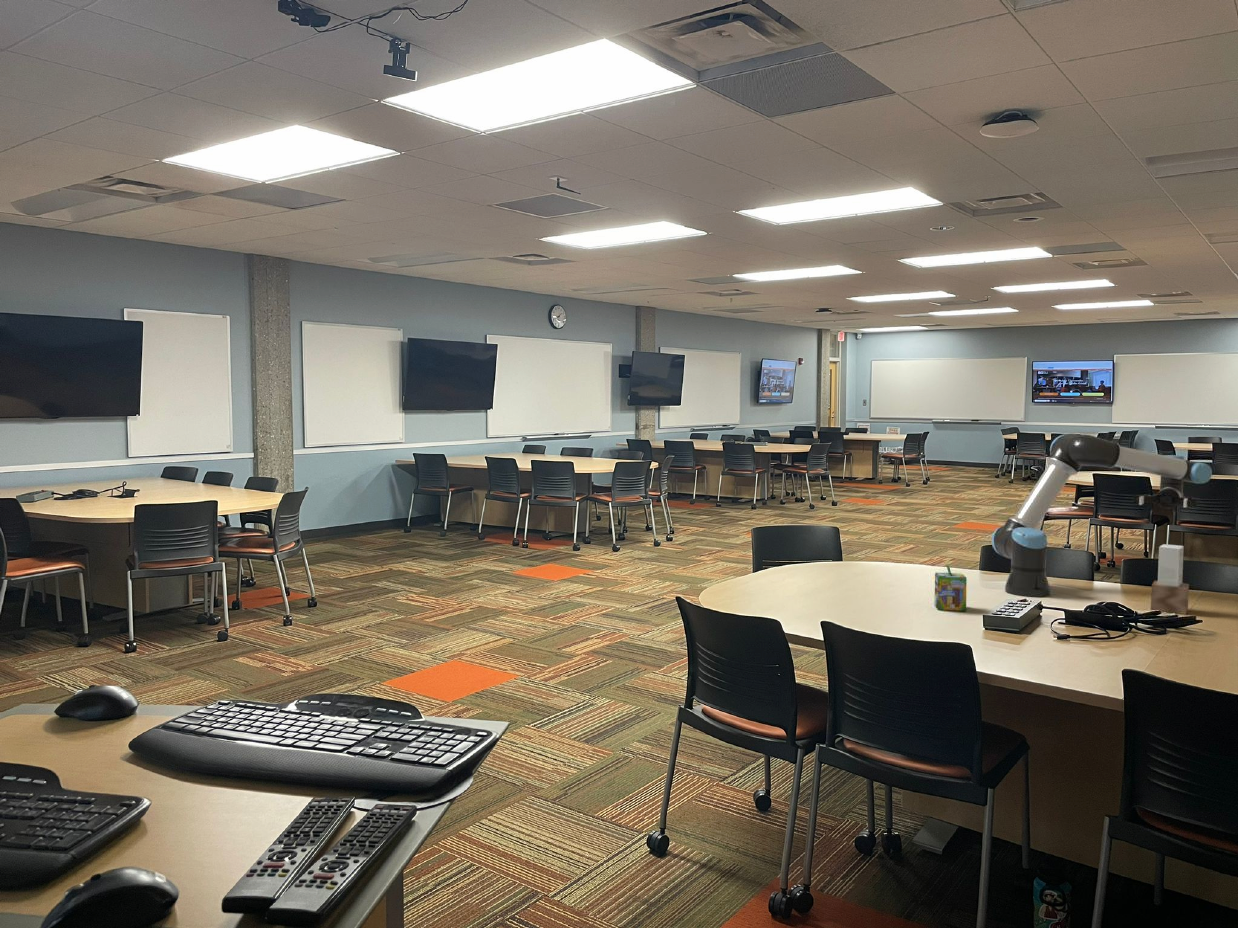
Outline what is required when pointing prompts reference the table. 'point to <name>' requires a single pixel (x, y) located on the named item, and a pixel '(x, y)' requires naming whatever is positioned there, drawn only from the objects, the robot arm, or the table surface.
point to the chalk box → (950, 591)
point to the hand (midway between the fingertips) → (1162, 502)
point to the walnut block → (1170, 598)
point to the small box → (1170, 565)
